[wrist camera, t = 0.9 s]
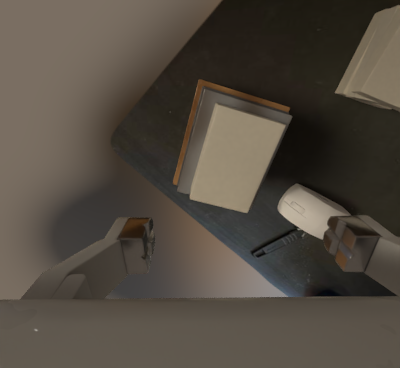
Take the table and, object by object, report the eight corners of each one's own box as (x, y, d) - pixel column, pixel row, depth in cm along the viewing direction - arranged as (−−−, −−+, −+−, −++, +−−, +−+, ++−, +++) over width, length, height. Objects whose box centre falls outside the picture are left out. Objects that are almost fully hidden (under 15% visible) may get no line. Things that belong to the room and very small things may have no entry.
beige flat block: (190, 188, 23) (189, 199, 20) (215, 102, 19) (217, 104, 17) (242, 201, 23) (247, 213, 21) (276, 120, 20) (286, 125, 18)
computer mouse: (293, 178, 38) (309, 195, 32) (347, 208, 40) (372, 228, 34) (271, 206, 40) (283, 226, 34) (324, 232, 42) (343, 254, 37)
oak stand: (180, 157, 36) (169, 195, 23) (199, 81, 31) (198, 77, 18) (235, 171, 37) (254, 216, 24) (262, 101, 32) (303, 110, 19)
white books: (330, 94, 32) (358, 95, 26) (372, 9, 27) (415, -10, 22) (382, 111, 33) (418, 115, 27) (430, 32, 29) (485, 19, 23)
